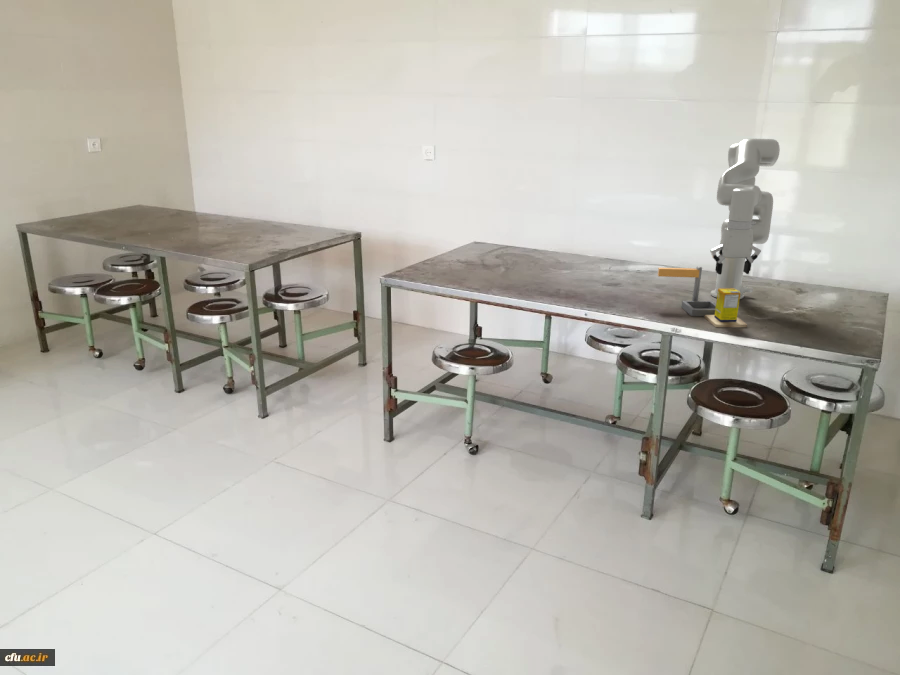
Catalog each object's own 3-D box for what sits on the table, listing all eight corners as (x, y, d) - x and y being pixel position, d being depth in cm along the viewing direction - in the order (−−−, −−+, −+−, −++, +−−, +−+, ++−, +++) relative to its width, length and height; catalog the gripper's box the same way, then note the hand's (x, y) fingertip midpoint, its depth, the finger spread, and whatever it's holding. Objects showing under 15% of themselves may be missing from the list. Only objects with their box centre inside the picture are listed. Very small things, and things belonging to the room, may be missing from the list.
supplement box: (729, 316, 246) (734, 287, 242) (736, 322, 240) (741, 292, 236) (713, 316, 246) (717, 287, 242) (720, 322, 240) (724, 292, 236)
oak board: (734, 317, 248) (734, 314, 248) (746, 327, 238) (747, 324, 238) (704, 317, 248) (704, 314, 248) (715, 327, 238) (716, 324, 237)
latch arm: (696, 304, 263) (701, 266, 258) (697, 305, 261) (702, 267, 256) (654, 302, 265) (658, 265, 260) (655, 304, 263) (659, 266, 258)
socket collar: (710, 306, 261) (711, 300, 260) (722, 316, 250) (723, 309, 249) (681, 307, 261) (682, 300, 260) (691, 316, 250) (692, 309, 249)
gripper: (759, 222, 235) (752, 270, 241) (710, 223, 235) (704, 270, 241) (769, 227, 228) (761, 275, 234) (718, 227, 228) (711, 276, 234)
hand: (732, 273), depth 238 cm, fingers open, 9 cm apart
